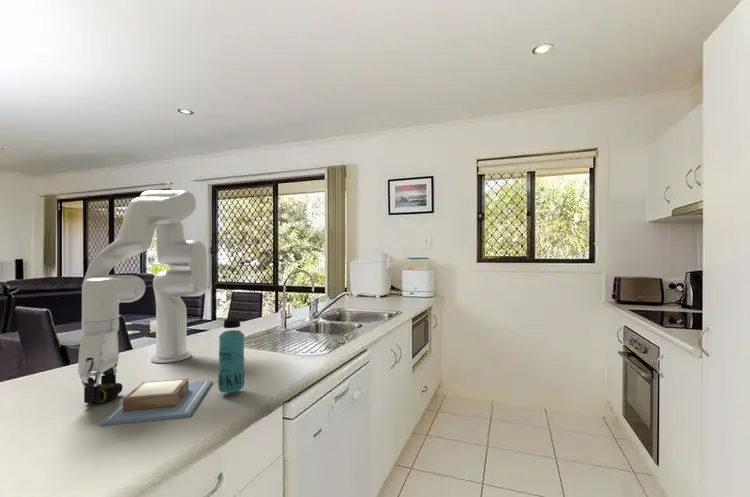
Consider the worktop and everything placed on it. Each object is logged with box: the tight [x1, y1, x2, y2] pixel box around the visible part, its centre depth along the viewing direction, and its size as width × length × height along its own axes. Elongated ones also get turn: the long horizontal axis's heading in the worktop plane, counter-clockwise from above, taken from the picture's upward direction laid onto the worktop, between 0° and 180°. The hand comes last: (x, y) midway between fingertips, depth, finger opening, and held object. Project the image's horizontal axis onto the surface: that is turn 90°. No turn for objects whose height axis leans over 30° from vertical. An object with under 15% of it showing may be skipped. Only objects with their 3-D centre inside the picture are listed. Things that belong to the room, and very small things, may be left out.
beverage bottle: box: [217, 317, 246, 394], centre depth 95 cm, size 6×7×20 cm
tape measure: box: [93, 382, 123, 404], centre depth 91 cm, size 7×7×4 cm
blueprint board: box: [99, 378, 213, 427], centre depth 90 cm, size 22×18×4 cm
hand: (100, 395), depth 91 cm, fingers closed on tape measure, 6 cm apart
